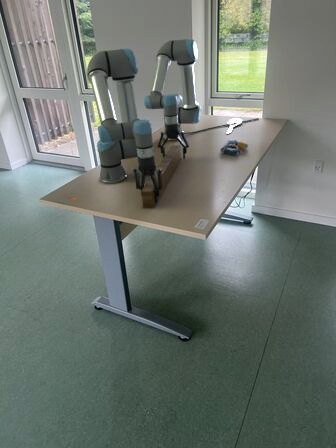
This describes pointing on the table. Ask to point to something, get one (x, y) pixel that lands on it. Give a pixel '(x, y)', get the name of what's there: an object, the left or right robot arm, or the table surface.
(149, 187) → the bar
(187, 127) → the table surface
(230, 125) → the spoon
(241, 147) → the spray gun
